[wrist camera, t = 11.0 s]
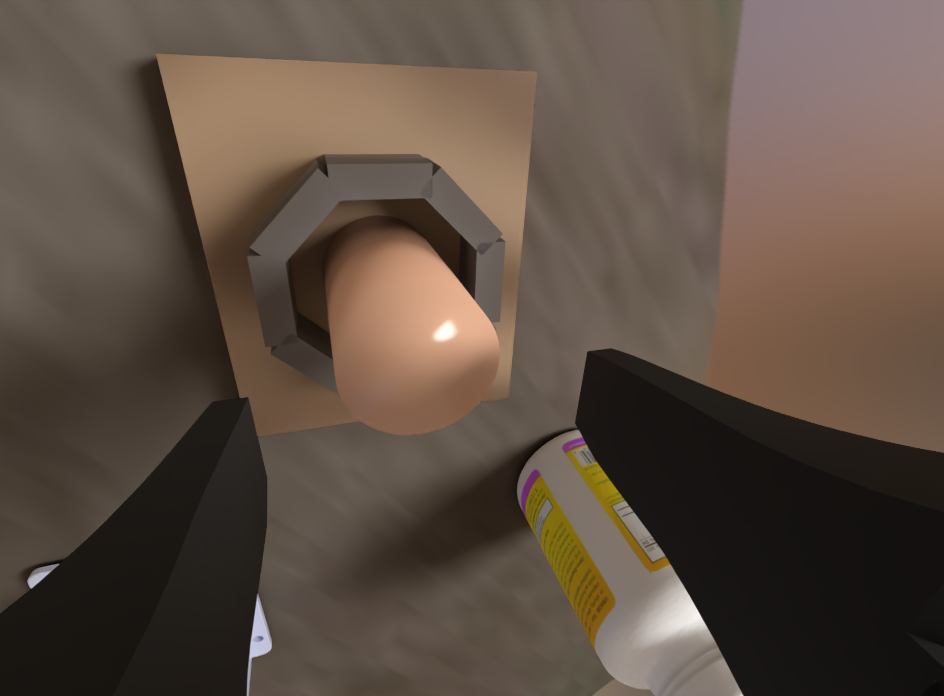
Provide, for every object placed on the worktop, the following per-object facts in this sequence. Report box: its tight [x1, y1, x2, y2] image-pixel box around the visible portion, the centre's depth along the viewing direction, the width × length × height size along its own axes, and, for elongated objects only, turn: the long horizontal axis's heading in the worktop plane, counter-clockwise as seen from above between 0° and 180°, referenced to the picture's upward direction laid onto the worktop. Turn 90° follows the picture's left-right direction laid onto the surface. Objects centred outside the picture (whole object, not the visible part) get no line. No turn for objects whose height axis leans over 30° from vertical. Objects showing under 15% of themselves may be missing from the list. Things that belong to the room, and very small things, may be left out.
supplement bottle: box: [517, 430, 743, 696], centre depth 22 cm, size 7×7×13 cm
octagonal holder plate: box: [156, 54, 537, 437], centre depth 17 cm, size 13×11×3 cm
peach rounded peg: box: [323, 215, 500, 435], centre depth 14 cm, size 4×4×7 cm
